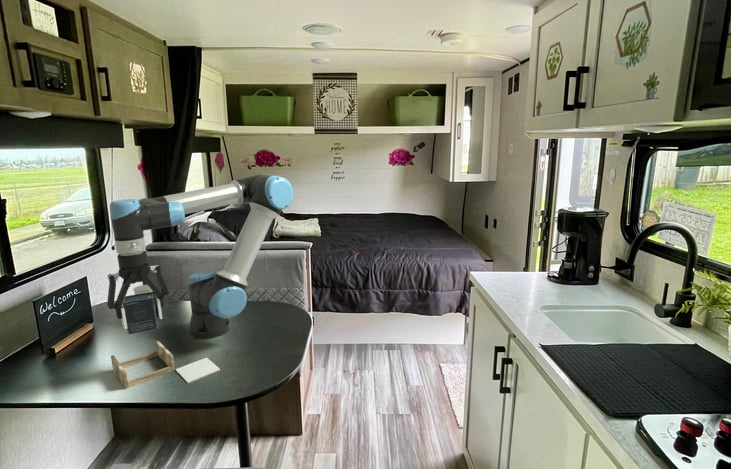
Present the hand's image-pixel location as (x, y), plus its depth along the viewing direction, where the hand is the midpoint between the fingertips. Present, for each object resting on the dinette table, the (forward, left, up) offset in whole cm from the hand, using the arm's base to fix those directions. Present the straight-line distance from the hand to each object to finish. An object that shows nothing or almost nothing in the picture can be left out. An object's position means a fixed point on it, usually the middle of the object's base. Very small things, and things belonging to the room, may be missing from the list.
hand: (142, 322), depth 123 cm
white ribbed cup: (-38, +11, -16) cm, 42 cm away
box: (0, 0, -2) cm, 2 cm away
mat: (+11, +11, -16) cm, 23 cm away
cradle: (-1, -1, -16) cm, 16 cm away
